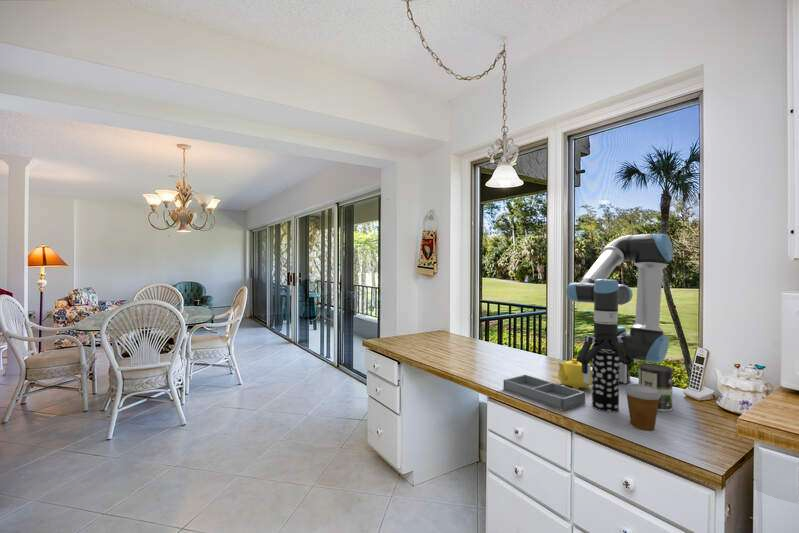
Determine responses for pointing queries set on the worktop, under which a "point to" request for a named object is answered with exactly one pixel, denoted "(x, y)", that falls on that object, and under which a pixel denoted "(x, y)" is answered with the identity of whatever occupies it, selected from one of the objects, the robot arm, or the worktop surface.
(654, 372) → the coffee can
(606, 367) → the white-spotted black cylinder
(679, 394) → the worktop surface
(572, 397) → the gray divided tray
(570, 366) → the teapot
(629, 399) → the disposable coffee cup
